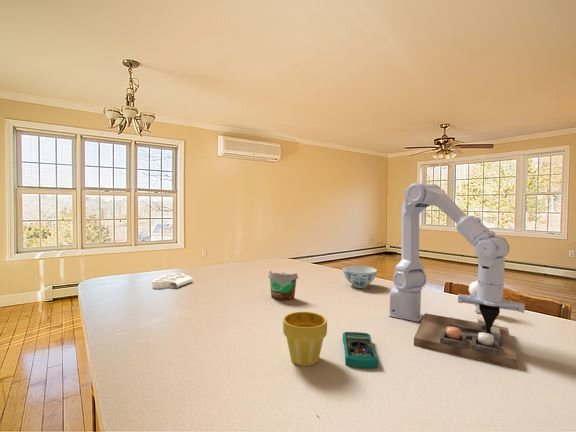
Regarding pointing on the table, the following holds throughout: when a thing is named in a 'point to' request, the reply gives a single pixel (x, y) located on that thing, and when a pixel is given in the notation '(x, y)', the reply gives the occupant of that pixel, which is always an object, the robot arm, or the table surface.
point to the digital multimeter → (359, 350)
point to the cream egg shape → (485, 338)
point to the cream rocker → (481, 322)
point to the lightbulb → (474, 292)
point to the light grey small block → (495, 333)
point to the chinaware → (359, 275)
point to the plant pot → (304, 336)
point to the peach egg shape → (453, 332)
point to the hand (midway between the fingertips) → (488, 333)
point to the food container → (282, 285)
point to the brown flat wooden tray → (464, 340)
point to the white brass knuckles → (171, 281)
